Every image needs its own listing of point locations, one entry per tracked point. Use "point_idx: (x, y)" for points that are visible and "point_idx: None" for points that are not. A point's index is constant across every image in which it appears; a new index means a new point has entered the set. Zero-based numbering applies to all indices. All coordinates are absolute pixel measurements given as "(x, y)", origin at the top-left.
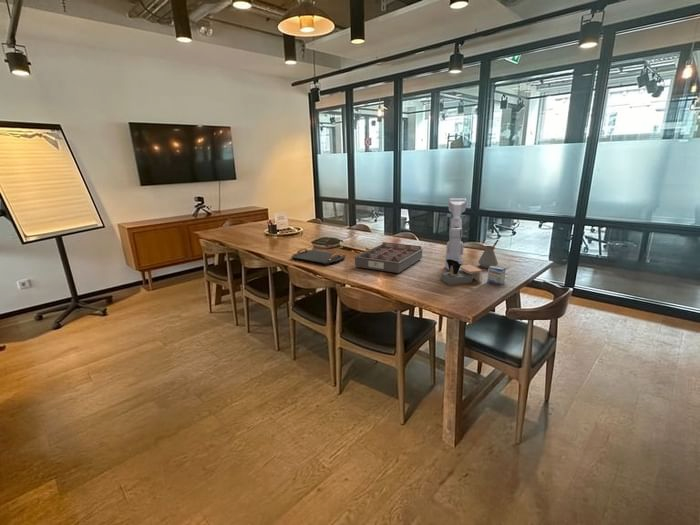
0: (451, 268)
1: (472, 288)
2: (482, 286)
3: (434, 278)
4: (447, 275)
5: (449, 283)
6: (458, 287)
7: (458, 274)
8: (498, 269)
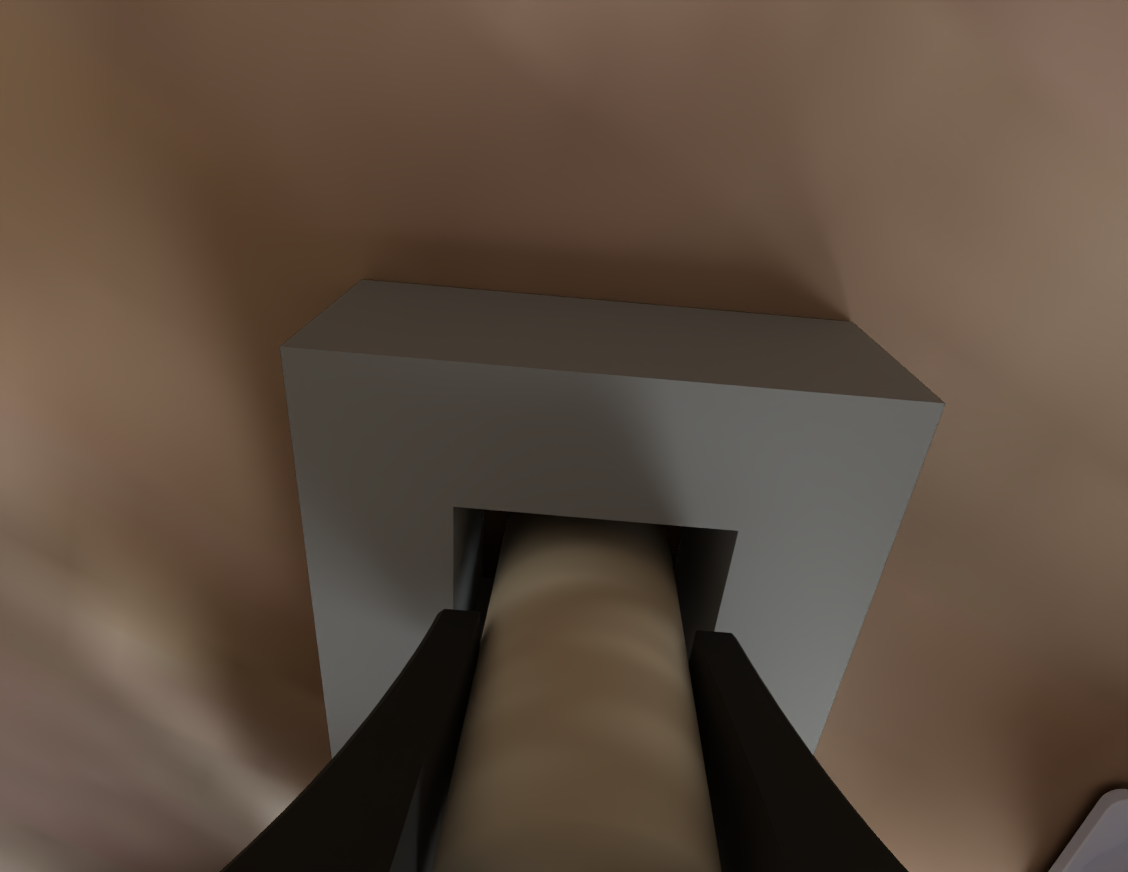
0: (552, 745)
1: (64, 580)
2: (154, 752)
3: (1040, 214)
4: (577, 437)
5: (356, 292)
6: (156, 378)
7: None
8: None
